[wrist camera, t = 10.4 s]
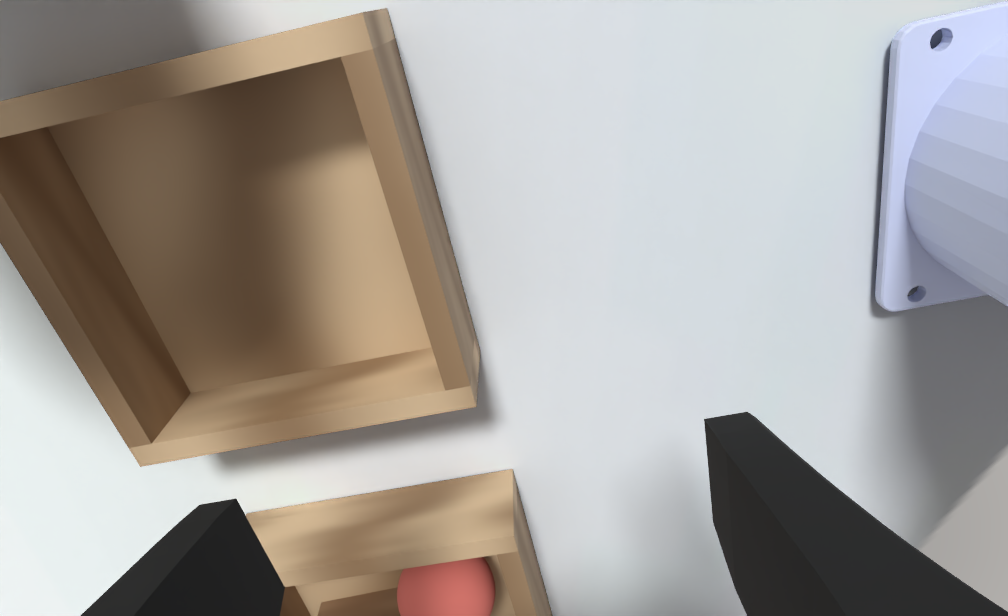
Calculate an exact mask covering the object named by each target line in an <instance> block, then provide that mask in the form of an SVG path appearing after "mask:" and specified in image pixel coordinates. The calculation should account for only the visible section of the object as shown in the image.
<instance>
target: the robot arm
mask: <svg viewBox="0 0 1008 616" xmlns="http://www.w3.org/2000/svg"><path fill="white" fill-rule="evenodd" d="M939 29H941V30H942V35H943V37H942V40H941V42H940V43H939V45H938V46H937V47H936V48H934V49H932V48H931V46H930V40H931V37H932V35H933V34H934V33H935V32H936V31H937V30H939ZM917 286H918V289H917V291H916V292H915V293H914V294H913V295H910V296H908V293H909V291H910V290H911V289H912V288H914V287H917ZM985 295H990V296H991V297H993V298H995V299H996V300H998V301H999V302H1001V303H1003V304H1004V305H1006V306H1007V307H1008V1H1003V2H999V3H994V4H990V5H985V6H981V7H976V8H972V9H968V10H963V11H959V12H954V13H950V14H945V15H941V16H936V17H932V18H927V19H923V20H918V21H914V22H911V23H909V24H906V25H904V26H903V27H902V28H901V29H900V30H899V31H898V32H897V33H896V35H895V36H894V38H893V40H892V44H891V49H890V65H889V81H888V97H887V113H886V129H885V145H884V161H883V177H882V193H881V209H880V225H879V242H878V258H877V274H876V290H875V298H876V301H877V303H878V304H879V305H880V306H881V307H883V308H884V309H885V310H888V311H890V312H897V311H903V310H908V309H914V308H919V307H925V306H930V305H936V304H941V303H947V302H952V301H958V300H963V299H969V298H974V297H980V296H985ZM704 421H705V432H706V444H707V456H708V467H709V479H710V491H711V502H712V514H713V523H714V526H715V529H716V532H717V535H718V538H719V541H720V544H721V547H722V550H723V553H724V557H725V560H726V563H727V565H728V568H729V571H730V574H731V577H732V580H733V583H734V586H735V589H736V591H737V594H738V596H739V598H740V600H741V603H742V605H743V607H744V609H745V612H746V614H747V616H1008V612H1007V611H1006V610H1004V609H1003V608H1001V607H999V606H998V605H996V604H995V603H993V602H992V601H990V600H989V599H987V598H986V597H984V596H983V595H981V594H979V593H978V592H977V591H975V590H974V589H973V588H971V587H970V586H968V585H967V584H965V583H964V582H962V581H961V580H959V579H958V578H957V577H955V576H954V575H952V574H951V573H949V572H948V571H946V570H945V569H943V568H942V567H941V566H939V565H938V564H937V563H935V562H934V561H933V560H931V559H930V558H928V557H927V556H925V555H924V554H923V553H921V552H920V551H919V550H917V549H916V548H914V547H913V546H912V545H910V544H909V543H907V542H906V541H905V540H903V539H902V538H901V537H899V536H898V535H897V534H895V533H894V532H893V531H891V530H890V529H889V528H887V527H886V526H885V525H883V524H882V523H881V522H880V521H878V520H877V519H876V518H875V517H873V516H872V515H871V514H869V513H868V512H867V511H866V510H864V509H863V508H862V507H861V506H859V505H858V504H857V503H855V502H854V501H853V500H852V499H850V498H849V497H848V496H847V495H845V494H844V493H843V492H842V491H840V490H839V489H838V488H837V487H835V486H834V485H833V484H832V483H830V482H829V481H828V480H827V479H826V478H824V477H823V476H822V475H821V474H820V473H818V472H817V471H816V470H815V469H814V468H813V467H811V466H810V465H809V464H808V463H807V462H805V461H804V460H803V459H802V458H801V457H800V456H798V455H797V454H796V453H795V452H794V451H793V450H792V449H790V448H789V447H788V446H787V445H786V444H785V443H784V442H782V441H781V440H780V439H779V438H778V437H777V436H776V435H775V434H773V433H772V432H771V431H770V430H769V429H768V428H767V427H766V426H765V425H763V424H762V423H761V422H760V421H759V420H758V419H757V418H756V417H754V416H753V415H751V414H750V413H748V412H744V413H738V414H732V415H726V416H720V417H714V418H708V419H704ZM284 590H285V587H284V585H283V583H282V581H281V579H280V577H279V576H278V574H277V572H276V570H275V568H274V567H273V565H272V563H271V561H270V559H269V557H268V556H267V554H266V552H265V550H264V548H263V547H262V545H261V543H260V541H259V539H258V537H257V536H256V534H255V532H254V530H253V528H252V527H251V525H250V523H249V521H248V519H247V518H246V516H245V514H244V512H243V510H242V508H241V507H240V505H239V503H238V501H237V499H231V500H226V501H220V502H214V503H208V504H202V505H199V506H198V507H197V508H195V509H194V510H193V511H192V512H191V513H190V514H188V515H187V516H186V517H185V518H184V519H183V520H181V521H180V522H179V523H178V524H177V525H176V526H175V527H174V528H173V529H171V530H170V531H169V532H168V533H167V534H166V535H165V536H164V537H163V538H162V539H161V540H160V541H159V542H157V543H156V544H155V545H154V546H153V547H152V548H151V549H150V550H149V551H148V552H147V553H146V554H145V555H144V556H143V557H142V558H141V559H140V560H139V561H137V562H136V563H135V564H134V565H133V566H132V567H131V568H130V569H129V570H128V571H127V572H126V573H125V574H124V575H123V576H122V577H121V578H120V579H119V580H118V581H117V582H115V583H114V584H113V585H112V586H111V587H110V588H109V589H108V590H107V591H106V592H105V593H104V594H103V595H102V596H101V597H100V598H99V599H98V600H97V601H96V602H94V603H93V604H92V605H91V606H90V607H89V608H88V609H87V610H86V611H85V612H84V613H83V614H82V615H81V616H280V612H281V606H282V601H283V596H284Z"/></svg>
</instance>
